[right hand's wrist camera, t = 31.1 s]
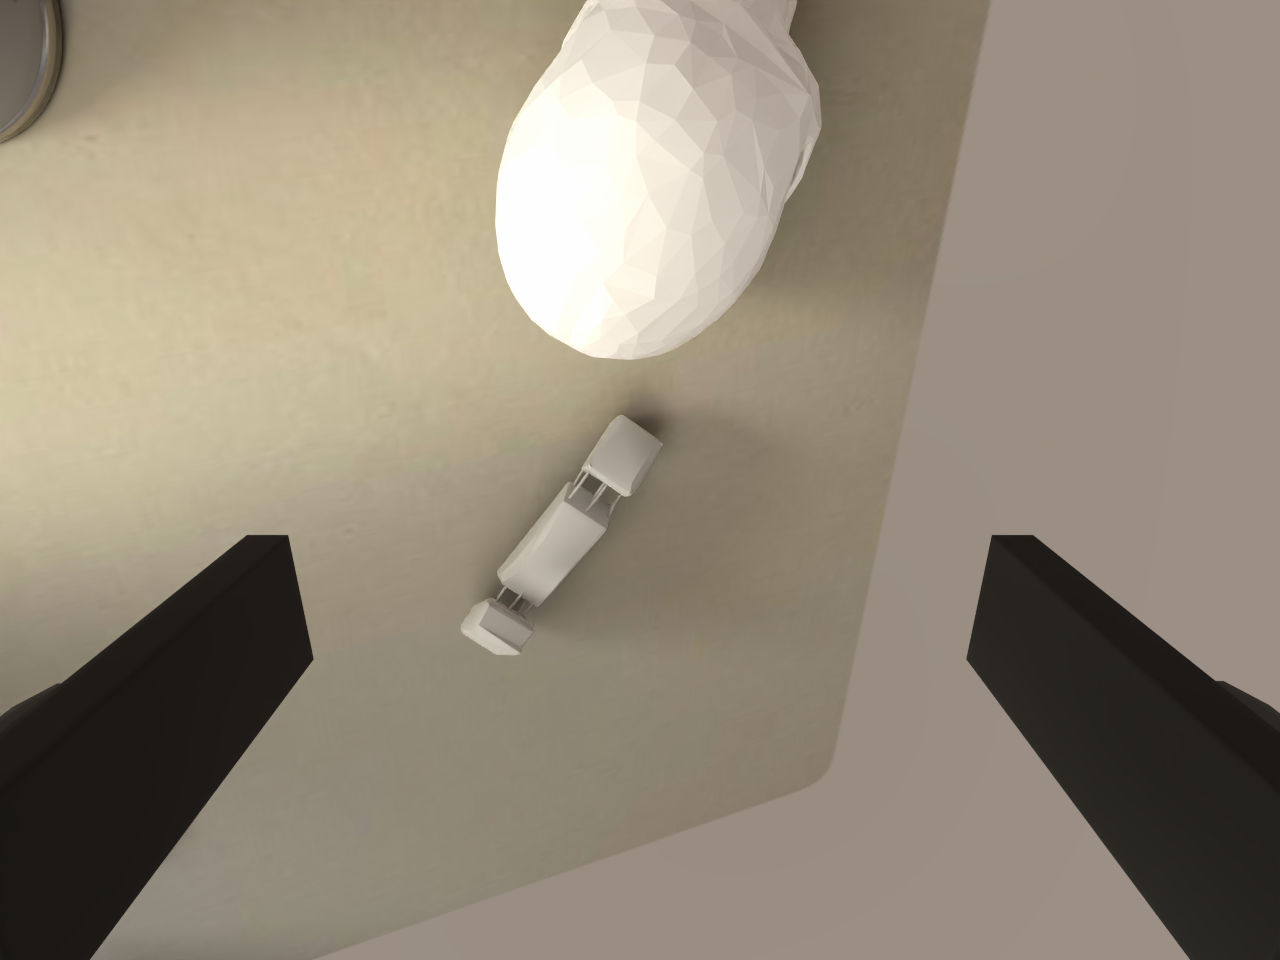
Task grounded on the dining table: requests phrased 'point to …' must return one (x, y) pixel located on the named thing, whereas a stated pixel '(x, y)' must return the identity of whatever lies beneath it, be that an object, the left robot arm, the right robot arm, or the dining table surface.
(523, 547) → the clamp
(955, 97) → the dining table surface
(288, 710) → the dining table surface
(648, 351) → the skull
